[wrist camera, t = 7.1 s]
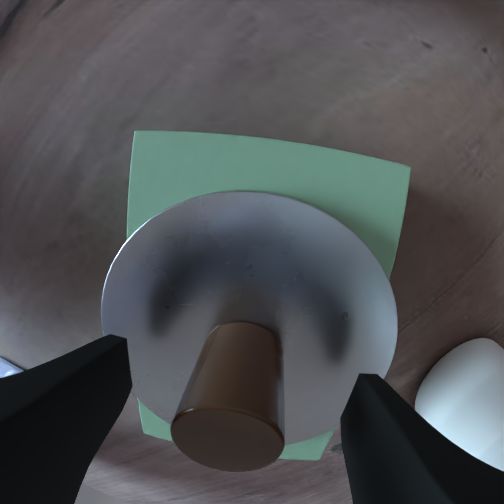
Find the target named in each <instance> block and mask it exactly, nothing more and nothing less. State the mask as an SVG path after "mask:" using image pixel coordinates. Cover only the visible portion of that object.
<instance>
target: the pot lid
mask: <svg viewBox="0 0 504 504" xmlns="http://www.w3.org/2000/svg"><path fill="white" fill-rule="evenodd" d="M101 321H102V330H103V335H104V336H106V335H109V334H113V335H116V336H120V337H124V338H127V344H128V354H129V362H130V370H131V378H132V385H133V387H132V389H131V392H132V393H133V394H134V395H135V396H136V397H137V398H138V399H139V400H140V401H141V402H142V403H143V404H144V405H145V406H146V407H147V408H148V409H149V410H150V411H152V412H153V413H154V414H155V415H157V416H158V417H159V418H161V419H162V420H164V421H165V422H167V423H168V424H170V425H171V426H170V432H171V437H172V440H173V442H174V443H175V445H176V446H177V448H178V449H179V450H180V451H181V452H182V453H183V454H185V455H186V456H187V457H189V458H190V459H192V460H193V461H195V462H197V463H199V464H202V465H204V466H207V467H210V468H213V469H217V470H222V471H229V472H245V471H253V470H257V469H261V468H264V467H266V466H268V465H270V464H272V463H273V462H275V461H276V460H277V459H278V458H279V457H280V455H281V454H282V452H283V450H284V447H285V446H286V445H291V444H295V443H299V442H302V441H306V440H309V439H312V438H314V437H317V436H319V435H322V434H324V433H326V432H328V431H330V430H331V429H333V428H335V427H337V426H339V425H340V417H341V415H342V413H343V411H344V408H345V406H346V404H347V401H348V399H349V397H350V394H351V392H352V390H353V387H354V385H355V382H356V380H357V377H358V375H359V373H368V374H378V375H379V376H380V377H381V378H382V379H384V377H385V375H386V373H387V371H388V369H389V367H390V364H391V361H392V358H393V355H394V352H395V347H396V342H397V336H398V314H397V307H396V300H395V297H394V293H393V290H392V287H391V284H390V281H389V279H388V277H387V275H386V273H385V271H384V269H383V267H382V265H381V263H380V262H379V260H378V259H377V258H376V256H375V255H374V253H373V252H372V251H371V249H370V248H369V247H368V246H367V245H366V244H365V242H364V241H363V240H362V239H361V238H360V237H359V236H358V235H357V234H356V233H355V232H354V231H352V230H351V229H350V228H349V227H347V226H346V225H345V224H343V223H342V222H341V221H339V220H338V219H337V218H335V217H334V216H332V215H331V214H330V213H328V212H326V211H324V210H322V209H320V208H318V207H316V206H315V205H313V204H311V203H308V202H306V201H303V200H300V199H297V198H294V197H292V196H289V195H284V194H280V193H275V192H270V191H263V190H248V189H238V190H226V191H217V192H213V193H209V194H204V195H200V196H196V197H193V198H190V199H188V200H185V201H182V202H180V203H177V204H175V205H172V206H170V207H168V208H167V209H165V210H163V211H162V212H160V213H158V214H156V215H155V216H153V217H152V218H150V219H149V220H148V221H147V222H145V223H144V224H143V225H142V226H141V227H139V228H138V229H137V230H136V231H135V232H134V233H133V234H132V235H131V236H130V238H129V239H128V240H127V241H126V242H125V243H124V244H123V246H122V248H121V249H120V251H119V252H118V254H117V255H116V257H115V259H114V260H113V263H112V265H111V267H110V270H109V272H108V274H107V277H106V281H105V285H104V289H103V293H102V303H101Z"/></svg>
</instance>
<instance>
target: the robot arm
mask: <svg viewBox="0 0 504 504" xmlns="http://www.w3.org/2000/svg"><path fill="white" fill-rule="evenodd" d="M0 376H1V378H0V504H74V503H75V500H76V497H77V494H78V492H79V489H80V486H81V484H82V481H83V479H84V477H85V474H86V472H87V469H88V467H89V465H90V463H91V461H92V460H93V458H94V456H95V454H96V453H97V451H98V449H99V448H100V446H101V444H102V443H103V441H104V440H105V438H106V436H107V435H108V433H109V431H110V430H111V428H112V427H113V425H114V423H115V422H116V420H117V418H118V417H119V415H120V413H121V412H122V410H123V408H124V405H125V403H126V401H127V399H128V396H129V394H130V391H131V389H132V387H133V385H132V378H131V370H130V362H129V354H128V344H127V338H124V337H120V336H116V335H113V334H109V335H106V336H104V337H102V338H99V339H97V340H95V341H93V342H91V343H89V344H86V345H84V346H82V347H80V348H78V349H76V350H74V351H71V352H69V353H67V354H65V355H63V356H61V357H58V358H56V359H54V360H51V361H49V362H46V363H44V364H41V365H39V366H36V367H34V368H31V369H29V370H26V371H24V370H22V369H20V368H18V367H16V366H15V365H13V364H11V363H10V362H8V361H6V360H4V359H3V358H1V357H0ZM340 424H341V440H342V448H343V453H344V458H345V463H346V468H347V473H348V478H349V483H350V488H351V494H352V499H353V504H504V471H502V470H499V469H497V468H495V467H493V466H491V465H489V464H487V463H485V462H483V461H481V460H479V459H478V458H476V457H474V456H472V455H471V454H469V453H468V452H466V451H465V450H463V449H462V448H460V447H459V446H457V445H456V444H454V443H453V442H452V441H450V440H449V439H448V438H446V437H445V436H444V435H443V434H441V433H440V432H439V431H438V430H437V429H435V428H434V427H433V426H432V425H431V424H429V423H428V422H427V421H426V420H425V419H424V418H423V417H422V416H421V415H419V414H418V413H417V412H416V411H415V410H414V409H413V408H412V407H411V406H410V405H409V404H408V403H407V402H406V401H405V400H404V399H403V398H402V397H401V396H400V395H399V394H398V393H397V392H396V391H395V390H394V389H393V388H392V387H391V386H390V385H389V384H388V383H387V382H385V381H384V380H383V379H382V378H381V377H380V376H379V375H378V374H368V373H359V375H358V377H357V380H356V382H355V385H354V387H353V390H352V392H351V394H350V397H349V399H348V401H347V404H346V406H345V408H344V411H343V413H342V415H341V417H340Z"/></svg>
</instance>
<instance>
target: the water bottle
mask: <svg viewBox="0 0 504 504" xmlns="http://www.w3.org/2000/svg"><path fill="white" fill-rule="evenodd" d="M415 411H416V412H417V413H418V414H419V415H421V416H422V417H423V418H424V419H425V420H426V421H427V422H428V423H429V424H431V425H432V426H433V427H434V428H435V429H437V430H438V431H439V432H440V433H441V434H443V435H444V436H445V437H446V438H448V439H449V440H450V441H452V442H453V443H454V444H456V445H457V446H459V447H460V448H462V449H463V450H465V451H466V452H468V453H469V454H471V455H472V456H474V457H476V458H478V459H479V460H481V461H483V462H485V463H487V464H489V465H491V466H493V467H495V468H497V469H499V470H502V471H504V349H503V348H502V347H501V346H500V345H498V344H497V343H496V342H495V341H493V340H491V339H487V338H478V339H473V340H470V341H467V342H465V343H463V344H461V345H459V346H457V347H456V348H454V349H452V350H451V351H450V352H448V353H447V354H446V355H445V356H443V357H442V358H441V359H440V360H439V361H438V362H437V363H436V364H435V365H434V366H433V368H432V369H431V370H430V371H429V373H428V374H427V375H426V377H425V378H424V380H423V382H422V384H421V386H420V388H419V390H418V392H417V395H416V400H415Z"/></svg>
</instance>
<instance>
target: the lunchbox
mask: <svg viewBox="0 0 504 504" xmlns="http://www.w3.org/2000/svg"><path fill="white" fill-rule="evenodd" d="M410 175H411V167H410V166H407V165H403V164H399V163H395V162H391V161H387V160H383V159H379V158H375V157H371V156H366V155H362V154H357V153H352V152H348V151H343V150H338V149H332V148H327V147H321V146H316V145H310V144H304V143H297V142H291V141H284V140H276V139H269V138H260V137H252V136H242V135H231V134H220V133H206V132H188V131H157V130H136V131H135V132H134V139H133V148H132V157H131V167H130V179H129V193H128V212H127V240H128V239H129V238H130V236H131V235H132V234H133V233H134V232H135V231H136V230H137V229H138V228H139V227H141V226H142V225H143V224H144V223H145V222H147V221H148V220H149V219H150V218H152V217H153V216H155V215H156V214H158V213H160V212H162V211H163V210H165V209H167V208H168V207H170V206H172V205H175V204H177V203H180V202H182V201H185V200H188V199H190V198H193V197H196V196H200V195H204V194H209V193H213V192H217V191H226V190H238V189H248V190H263V191H270V192H275V193H280V194H284V195H289V196H292V197H294V198H297V199H300V200H303V201H306V202H308V203H311V204H313V205H315V206H316V207H318V208H320V209H322V210H324V211H326V212H328V213H330V214H331V215H332V216H334V217H335V218H337V219H338V220H339V221H341V222H342V223H343V224H345V225H346V226H347V227H349V228H350V229H351V230H352V231H354V232H355V233H356V234H357V235H358V236H359V237H360V238H361V239H362V240H363V241H364V242H365V244H366V245H367V246H368V247H369V248H370V249H371V251H372V252H373V253H374V255H375V256H376V258H377V259H378V260H379V262H380V263H381V265H382V267H383V269H384V271H385V273H386V275H387V277H388V279H389V280H390V276H391V272H392V268H393V264H394V260H395V256H396V252H397V247H398V243H399V238H400V234H401V229H402V224H403V218H404V213H405V207H406V202H407V195H408V189H409V182H410ZM137 399H138V398H137ZM138 405H139V411H140V417H141V422H142V427H143V432H144V434H148V435H151V436H154V437H158V438H162V439H165V440H169V441H173V440H172V437H171V432H170V426H171V425H170V424H168V423H167V422H165V421H164V420H162V419H161V418H159V417H158V416H157V415H155V414H154V413H153V412H152V411H150V410H149V409H148V408H147V407H146V406H145V405H144V404H143V403H142V402H141V401H140V400H139V399H138ZM335 428H336V427H335ZM335 428H333V429H331V430H330V431H328V432H326V433H324V434H322V435H319V436H317V437H314V438H312V439H309V440H306V441H302V442H299V443H295V444H291V445H286V446H285V447H284V450H283V452H282V454H281V455H280V457H279V458H278V459H293V460H319V459H320V457H321V456H322V454H323V452H324V450H325V448H326V446H327V444H328V442H329V440H330V438H331V436H332V434H333V432H334V430H335Z"/></svg>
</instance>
